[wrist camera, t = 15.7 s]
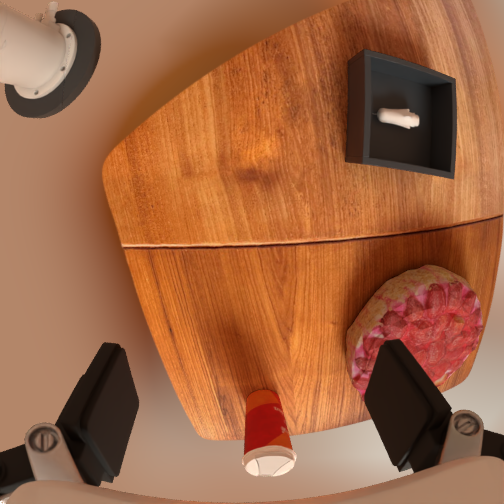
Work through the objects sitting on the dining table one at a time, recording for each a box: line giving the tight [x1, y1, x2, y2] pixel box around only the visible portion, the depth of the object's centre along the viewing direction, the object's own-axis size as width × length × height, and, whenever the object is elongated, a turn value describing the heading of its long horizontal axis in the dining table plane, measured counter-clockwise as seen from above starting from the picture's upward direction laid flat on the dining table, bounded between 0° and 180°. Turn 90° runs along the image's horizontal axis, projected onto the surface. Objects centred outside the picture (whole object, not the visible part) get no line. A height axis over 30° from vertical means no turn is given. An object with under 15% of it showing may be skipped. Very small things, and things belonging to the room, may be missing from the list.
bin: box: [345, 49, 457, 179], centre depth 30 cm, size 14×14×6 cm
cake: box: [345, 265, 483, 401], centre depth 40 cm, size 25×25×8 cm
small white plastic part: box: [376, 108, 419, 129], centre depth 31 cm, size 4×6×3 cm, turn 65°
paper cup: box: [242, 390, 297, 477], centre depth 40 cm, size 8×8×14 cm
